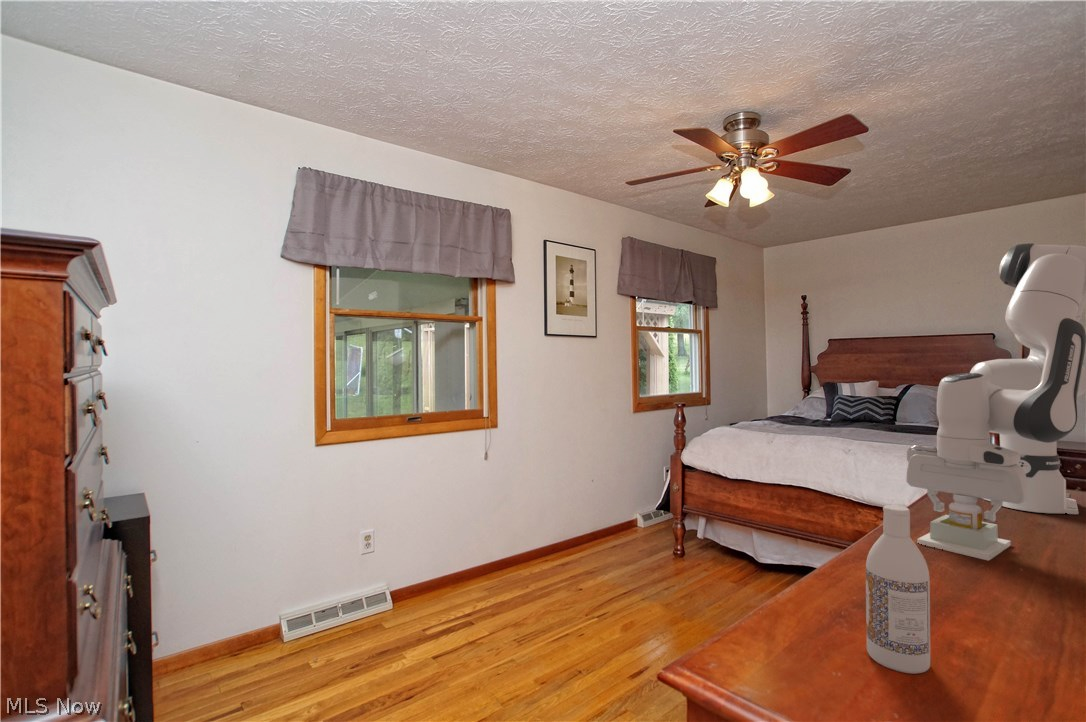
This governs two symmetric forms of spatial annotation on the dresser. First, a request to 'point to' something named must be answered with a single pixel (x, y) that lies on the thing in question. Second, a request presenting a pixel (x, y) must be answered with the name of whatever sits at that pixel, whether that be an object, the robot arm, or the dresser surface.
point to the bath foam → (898, 597)
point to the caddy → (965, 539)
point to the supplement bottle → (965, 512)
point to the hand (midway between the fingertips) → (963, 515)
